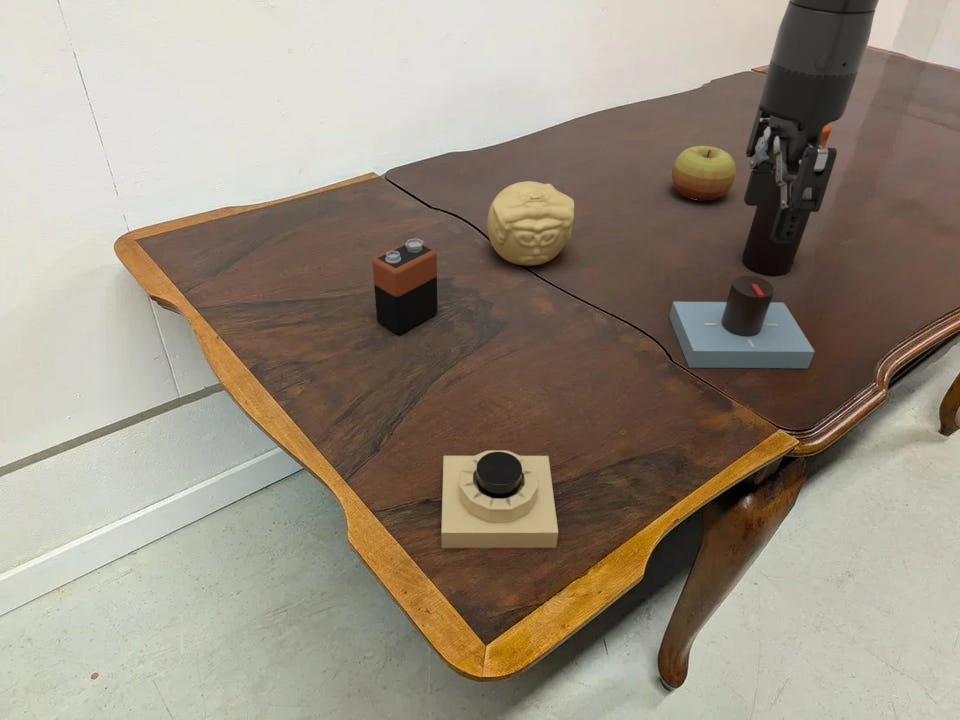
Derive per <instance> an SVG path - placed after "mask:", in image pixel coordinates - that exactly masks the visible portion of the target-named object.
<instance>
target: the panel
mask: <svg viewBox="0 0 960 720" xmlns="http://www.w3.org/2000/svg"><path fill="white" fill-rule="evenodd" d="M726 303H727V301H672V305H671V309H670V313H669V321H670V322H671V325H672V328H673V330H674V331H673V332H674V334H675V336H676V338H677V341H678V344H679V346H680V348H681V351H682V353H683V356H684V358H685V361H686V364H687V366H688V368H689V369H702V368H703V369H809V368H810V365H811V363H812V360H813V358H814V354H815V353H816V351H815V349H814V347H813V346H812V345H811V343H810V341H809V340H808V338H807V337H806V335H805V333H804V332H803V330H802V329H801V327H800V326H799V324H798V322H797V321H796V319H795V318H794V316H793V315H792V313H791V311H790V310H789V308H788V307H787V305H786V304H785V302H783V301H782V302H779V301H778V302H773V301H772V302H770V305H769V308H768V311H767V314H766V317H765V320H764V323H763V326H762V329H761V331H760V333H758V334H757V335H754V336H739V335H736V334H733V333H731V332H729V331H728V330H726V329H725V328H724V327H723V325H722V323H721V320H722V317H723V313H724V310H725V306H726Z"/></svg>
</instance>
